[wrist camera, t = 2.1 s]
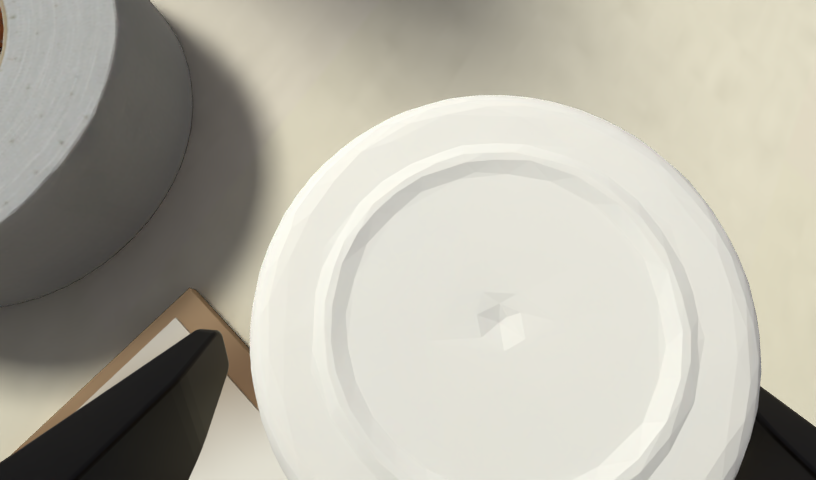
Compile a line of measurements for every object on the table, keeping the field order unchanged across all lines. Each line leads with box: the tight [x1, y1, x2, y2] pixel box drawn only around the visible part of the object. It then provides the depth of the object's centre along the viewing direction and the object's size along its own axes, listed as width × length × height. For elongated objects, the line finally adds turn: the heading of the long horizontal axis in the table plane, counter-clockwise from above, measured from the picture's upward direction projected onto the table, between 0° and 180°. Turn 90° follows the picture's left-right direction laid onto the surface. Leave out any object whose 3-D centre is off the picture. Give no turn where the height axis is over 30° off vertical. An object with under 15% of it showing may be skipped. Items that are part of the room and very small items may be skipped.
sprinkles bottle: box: [250, 95, 761, 480], centre depth 10 cm, size 5×5×14 cm
